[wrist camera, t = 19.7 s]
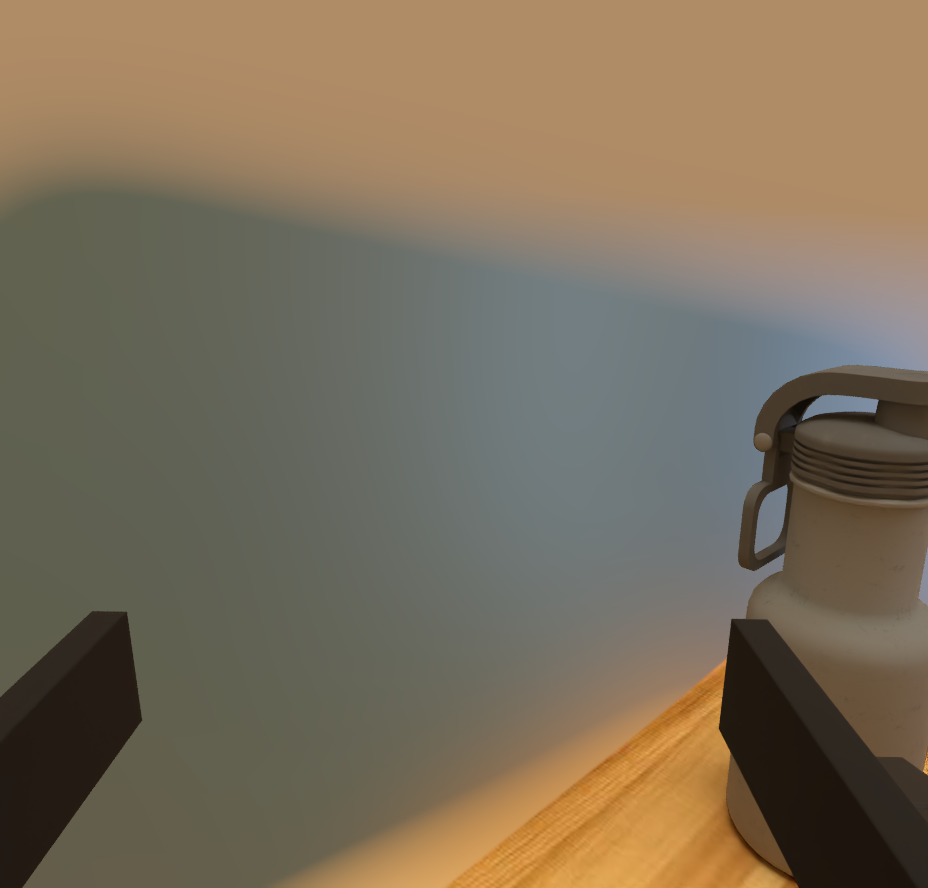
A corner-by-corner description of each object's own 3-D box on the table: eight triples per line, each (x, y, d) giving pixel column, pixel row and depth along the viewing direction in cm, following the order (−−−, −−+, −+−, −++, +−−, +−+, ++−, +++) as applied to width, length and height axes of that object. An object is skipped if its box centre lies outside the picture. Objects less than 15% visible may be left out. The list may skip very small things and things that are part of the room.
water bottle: (688, 818, 43) (731, 370, 36) (763, 746, 49) (814, 351, 42) (865, 934, 36) (966, 399, 28) (928, 833, 42) (1024, 372, 35)
